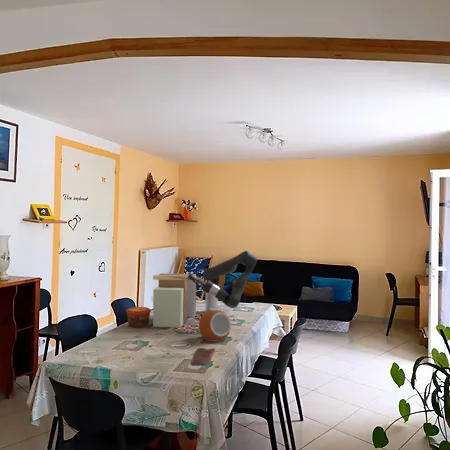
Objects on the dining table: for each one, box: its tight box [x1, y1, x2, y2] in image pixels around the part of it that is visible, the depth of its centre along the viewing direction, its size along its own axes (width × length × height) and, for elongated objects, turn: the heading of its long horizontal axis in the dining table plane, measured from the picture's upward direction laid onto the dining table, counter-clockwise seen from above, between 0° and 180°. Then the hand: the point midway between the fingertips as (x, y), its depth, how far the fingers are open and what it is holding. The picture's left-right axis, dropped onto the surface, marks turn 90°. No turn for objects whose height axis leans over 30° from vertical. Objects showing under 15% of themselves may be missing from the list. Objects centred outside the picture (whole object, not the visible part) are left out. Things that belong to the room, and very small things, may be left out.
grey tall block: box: [186, 273, 197, 318], centre depth 307 cm, size 14×6×30 cm, turn 84°
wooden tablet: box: [190, 347, 216, 367], centre depth 217 cm, size 26×2×10 cm
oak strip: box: [152, 274, 197, 281], centre depth 279 cm, size 4×28×2 cm, turn 84°
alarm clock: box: [198, 308, 232, 342], centre depth 251 cm, size 19×18×17 cm
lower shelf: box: [152, 286, 184, 328], centre depth 280 cm, size 9×18×24 cm, turn 84°
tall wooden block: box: [158, 272, 189, 324], centre depth 292 cm, size 9×20×32 cm, turn 84°
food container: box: [125, 306, 152, 329], centre depth 279 cm, size 16×16×11 cm
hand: (189, 275), depth 278 cm, fingers closed on oak strip, 4 cm apart
